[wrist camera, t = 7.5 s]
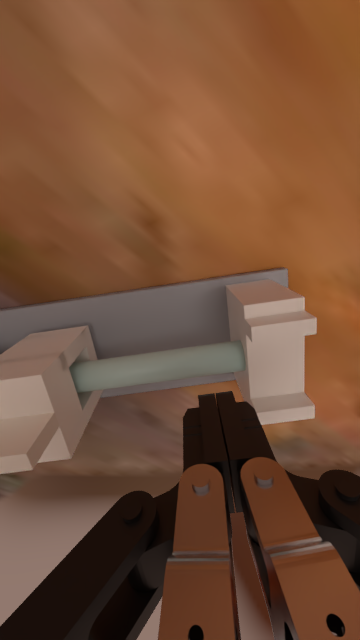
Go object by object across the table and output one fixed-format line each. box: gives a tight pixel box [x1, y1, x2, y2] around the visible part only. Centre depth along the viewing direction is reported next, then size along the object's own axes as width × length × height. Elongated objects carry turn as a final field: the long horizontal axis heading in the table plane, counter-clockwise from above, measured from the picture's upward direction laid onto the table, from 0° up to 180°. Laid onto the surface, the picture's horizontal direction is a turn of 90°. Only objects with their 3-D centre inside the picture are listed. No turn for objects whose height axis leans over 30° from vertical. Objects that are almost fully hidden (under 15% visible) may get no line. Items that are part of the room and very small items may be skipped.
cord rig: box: [0, 267, 317, 425], centre depth 17 cm, size 26×8×7 cm, turn 98°
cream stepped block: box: [0, 326, 103, 474], centre depth 14 cm, size 4×5×9 cm
